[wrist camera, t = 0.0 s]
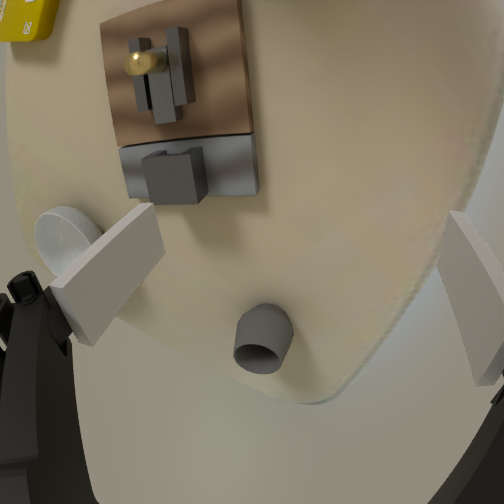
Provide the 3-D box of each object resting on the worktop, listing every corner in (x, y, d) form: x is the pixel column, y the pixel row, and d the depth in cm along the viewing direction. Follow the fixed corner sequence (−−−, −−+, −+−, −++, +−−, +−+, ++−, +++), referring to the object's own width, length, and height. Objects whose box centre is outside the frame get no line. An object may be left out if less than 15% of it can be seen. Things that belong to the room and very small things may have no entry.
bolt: (153, 50, 33) (121, 50, 27) (173, 45, 32) (144, 43, 26) (162, 121, 38) (133, 133, 32) (182, 118, 37) (156, 129, 31)
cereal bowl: (57, 249, 60) (37, 267, 54) (56, 183, 51) (31, 199, 45) (117, 283, 60) (98, 305, 55) (124, 217, 51) (101, 237, 45)
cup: (256, 337, 59) (243, 379, 50) (234, 301, 55) (216, 343, 47) (303, 329, 55) (296, 374, 47) (285, 290, 51) (274, 335, 43)
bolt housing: (139, 41, 32) (122, 40, 29) (187, 28, 31) (172, 25, 27) (164, 193, 44) (150, 205, 41) (208, 192, 42) (197, 204, 39)
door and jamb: (108, 24, 33) (99, 23, 31) (239, -13, 28) (234, -16, 27) (136, 193, 48) (129, 198, 46) (259, 190, 43) (255, 195, 41)
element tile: (25, -27, 27) (7, -28, 23) (73, -37, 27) (54, -40, 23) (9, 39, 36) (-9, 42, 32) (52, 40, 36) (31, 42, 32)
